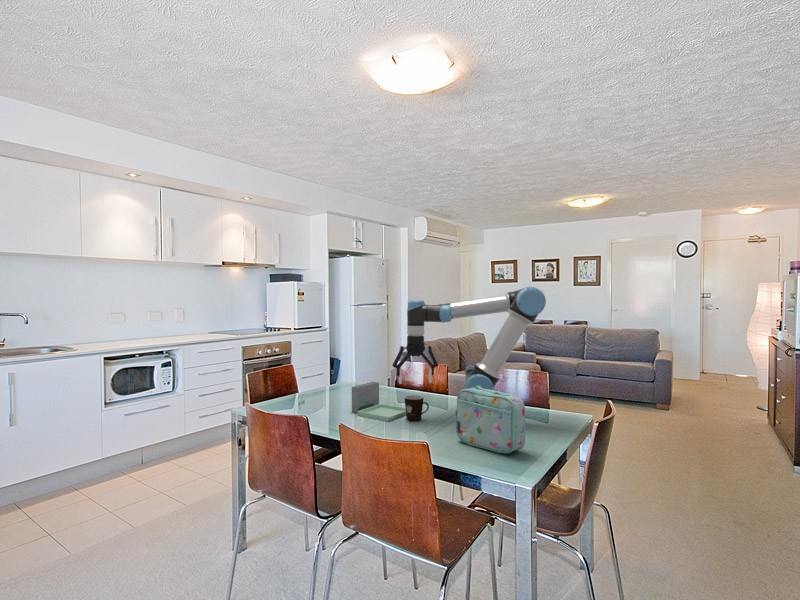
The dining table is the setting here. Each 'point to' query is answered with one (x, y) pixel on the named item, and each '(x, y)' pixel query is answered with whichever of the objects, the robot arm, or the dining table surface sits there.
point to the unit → (365, 396)
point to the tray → (383, 412)
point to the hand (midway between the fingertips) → (415, 383)
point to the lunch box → (490, 419)
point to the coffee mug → (414, 407)
